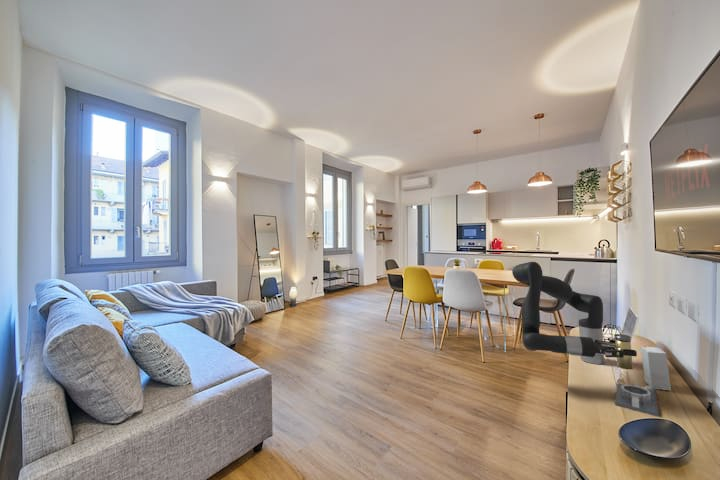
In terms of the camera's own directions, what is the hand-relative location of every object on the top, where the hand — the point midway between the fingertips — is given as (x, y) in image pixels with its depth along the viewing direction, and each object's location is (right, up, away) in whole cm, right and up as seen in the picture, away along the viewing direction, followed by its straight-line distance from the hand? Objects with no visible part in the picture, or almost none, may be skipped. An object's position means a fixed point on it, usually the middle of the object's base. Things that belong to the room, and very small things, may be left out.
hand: (632, 351), depth 109 cm
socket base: (0, -18, -1) cm, 18 cm away
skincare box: (+18, -18, +8) cm, 26 cm away
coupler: (-2, -7, +1) cm, 7 cm away
